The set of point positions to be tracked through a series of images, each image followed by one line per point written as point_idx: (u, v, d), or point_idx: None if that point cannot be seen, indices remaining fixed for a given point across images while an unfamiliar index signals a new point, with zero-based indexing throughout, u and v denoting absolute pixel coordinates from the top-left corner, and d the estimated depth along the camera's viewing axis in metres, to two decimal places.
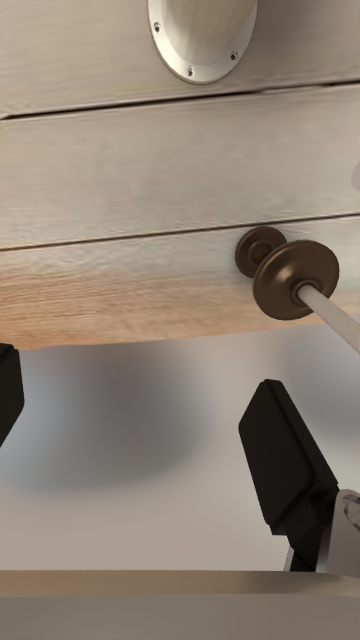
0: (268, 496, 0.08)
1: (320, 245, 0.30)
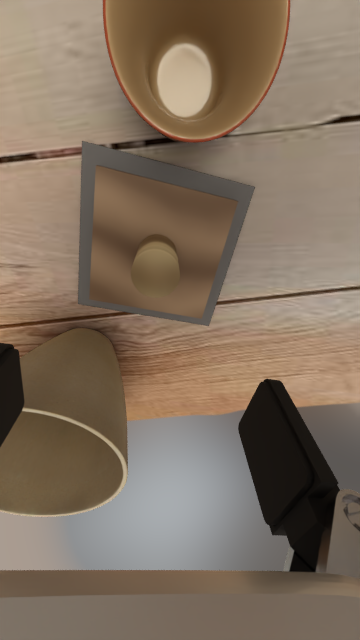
0: (268, 496, 0.08)
1: None
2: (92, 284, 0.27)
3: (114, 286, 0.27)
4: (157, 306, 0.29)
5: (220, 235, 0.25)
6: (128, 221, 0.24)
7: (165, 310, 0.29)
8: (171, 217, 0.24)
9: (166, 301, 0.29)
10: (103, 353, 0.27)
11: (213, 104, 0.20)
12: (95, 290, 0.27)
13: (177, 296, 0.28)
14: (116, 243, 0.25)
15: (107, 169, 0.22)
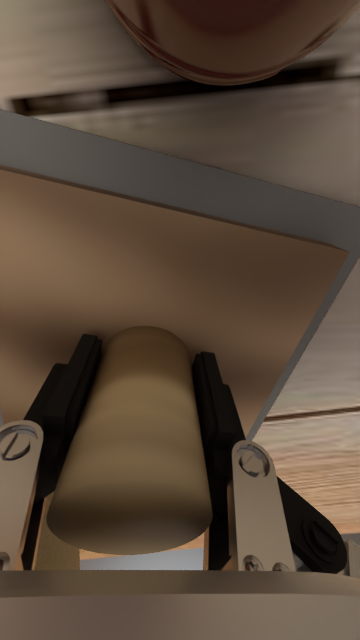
0: None
1: None
2: (7, 417, 0.13)
3: None
4: None
5: (291, 323, 0.11)
6: (71, 300, 0.10)
7: None
8: (179, 289, 0.10)
9: None
10: None
11: None
12: None
13: None
14: (48, 345, 0.11)
15: None
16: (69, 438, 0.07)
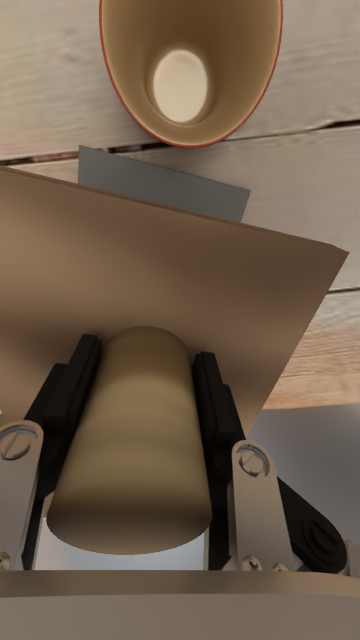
0: None
1: None
2: (7, 417, 0.13)
3: None
4: None
5: (291, 324, 0.11)
6: (71, 301, 0.10)
7: None
8: (179, 290, 0.10)
9: None
10: None
11: (209, 109, 0.20)
12: None
13: None
14: (48, 345, 0.11)
15: None
16: (69, 438, 0.07)
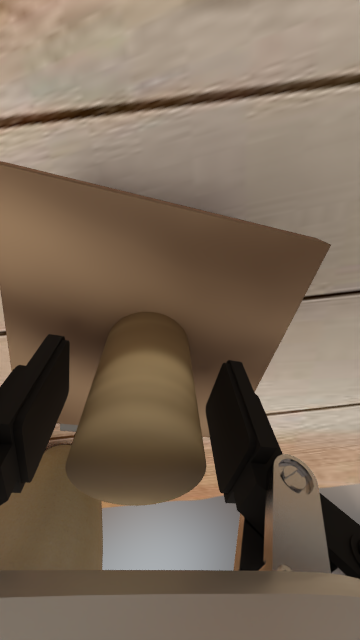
0: (222, 467, 0.09)
1: None
2: None
3: None
4: None
5: (280, 310, 0.12)
6: (81, 288, 0.11)
7: None
8: (178, 278, 0.11)
9: None
10: None
11: None
12: None
13: None
14: (60, 329, 0.12)
15: (15, 171, 0.08)
16: (20, 446, 0.07)
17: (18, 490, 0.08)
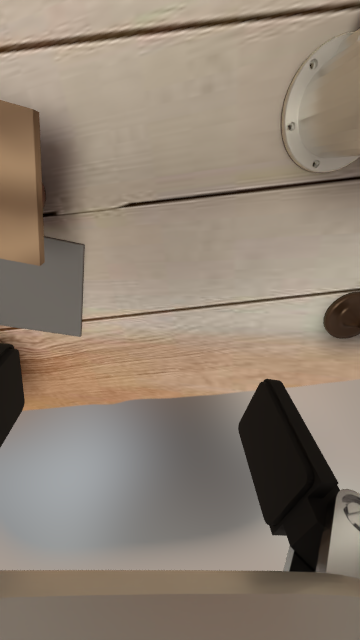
0: (268, 496, 0.08)
1: None
2: None
3: None
4: None
5: (25, 155, 0.21)
6: None
7: None
8: None
9: None
10: None
11: None
12: None
13: (1, 236, 0.24)
14: None
15: None
16: None
17: None
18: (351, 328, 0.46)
